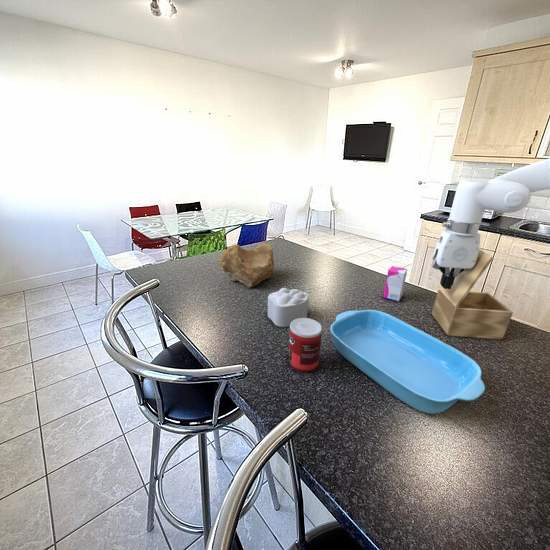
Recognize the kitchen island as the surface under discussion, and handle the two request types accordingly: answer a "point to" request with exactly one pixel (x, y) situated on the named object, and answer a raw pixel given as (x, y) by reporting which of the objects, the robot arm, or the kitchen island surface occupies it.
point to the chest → (472, 316)
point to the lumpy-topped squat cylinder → (287, 306)
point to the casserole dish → (407, 360)
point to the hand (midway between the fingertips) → (445, 287)
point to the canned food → (304, 344)
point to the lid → (466, 279)
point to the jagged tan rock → (248, 264)
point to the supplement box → (395, 283)
